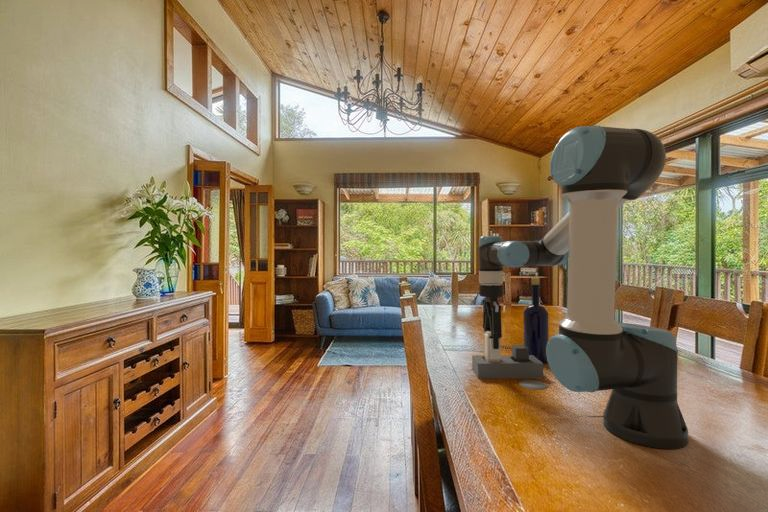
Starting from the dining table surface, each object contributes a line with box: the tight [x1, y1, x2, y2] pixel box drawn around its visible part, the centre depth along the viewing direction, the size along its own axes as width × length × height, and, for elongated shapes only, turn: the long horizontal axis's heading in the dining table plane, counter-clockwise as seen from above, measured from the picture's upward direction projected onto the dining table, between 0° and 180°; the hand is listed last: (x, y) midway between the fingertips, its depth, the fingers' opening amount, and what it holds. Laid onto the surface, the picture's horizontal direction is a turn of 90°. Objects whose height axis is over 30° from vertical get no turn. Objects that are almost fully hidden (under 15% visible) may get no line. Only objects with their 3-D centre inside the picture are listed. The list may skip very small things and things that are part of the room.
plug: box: [483, 331, 500, 362], centre depth 118 cm, size 4×4×13 cm
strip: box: [471, 344, 544, 379], centre depth 118 cm, size 10×20×9 cm, turn 88°
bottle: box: [523, 277, 550, 365], centre depth 132 cm, size 9×9×30 cm
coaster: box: [518, 379, 549, 391], centre depth 108 cm, size 8×8×1 cm
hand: (492, 355), depth 118 cm, fingers open, 7 cm apart
